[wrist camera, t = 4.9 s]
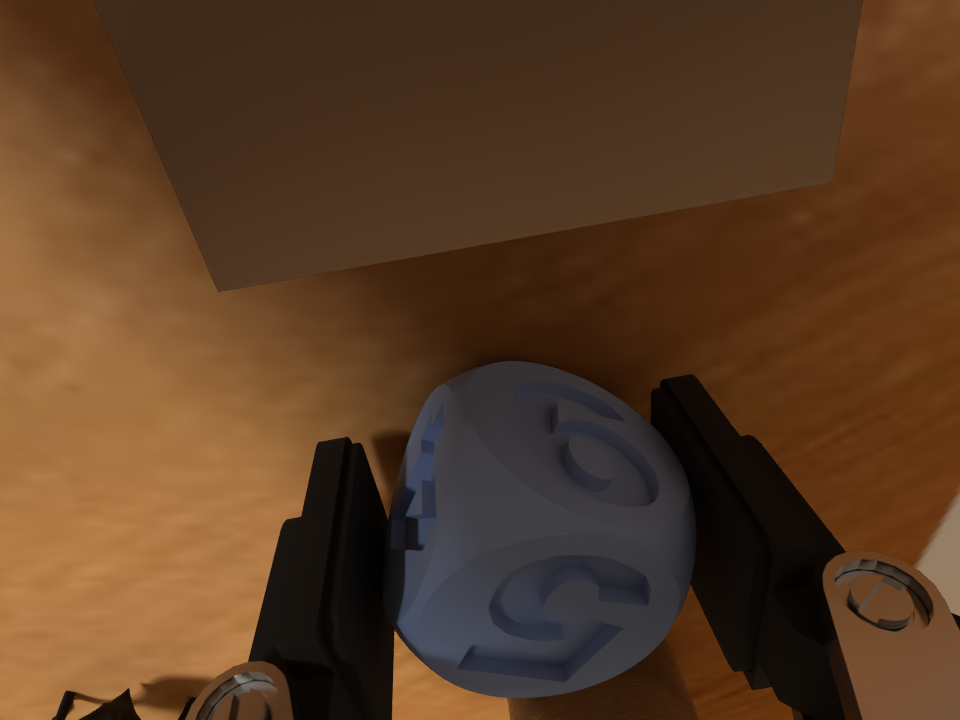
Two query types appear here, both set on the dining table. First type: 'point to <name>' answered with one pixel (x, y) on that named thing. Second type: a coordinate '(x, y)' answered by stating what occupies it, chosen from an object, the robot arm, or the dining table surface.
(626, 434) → the decorative dice
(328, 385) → the dining table surface
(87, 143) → the dining table surface
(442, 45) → the walnut block
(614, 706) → the dark metal cylinder
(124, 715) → the creature
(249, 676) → the robot arm
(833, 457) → the dining table surface
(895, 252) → the dining table surface
